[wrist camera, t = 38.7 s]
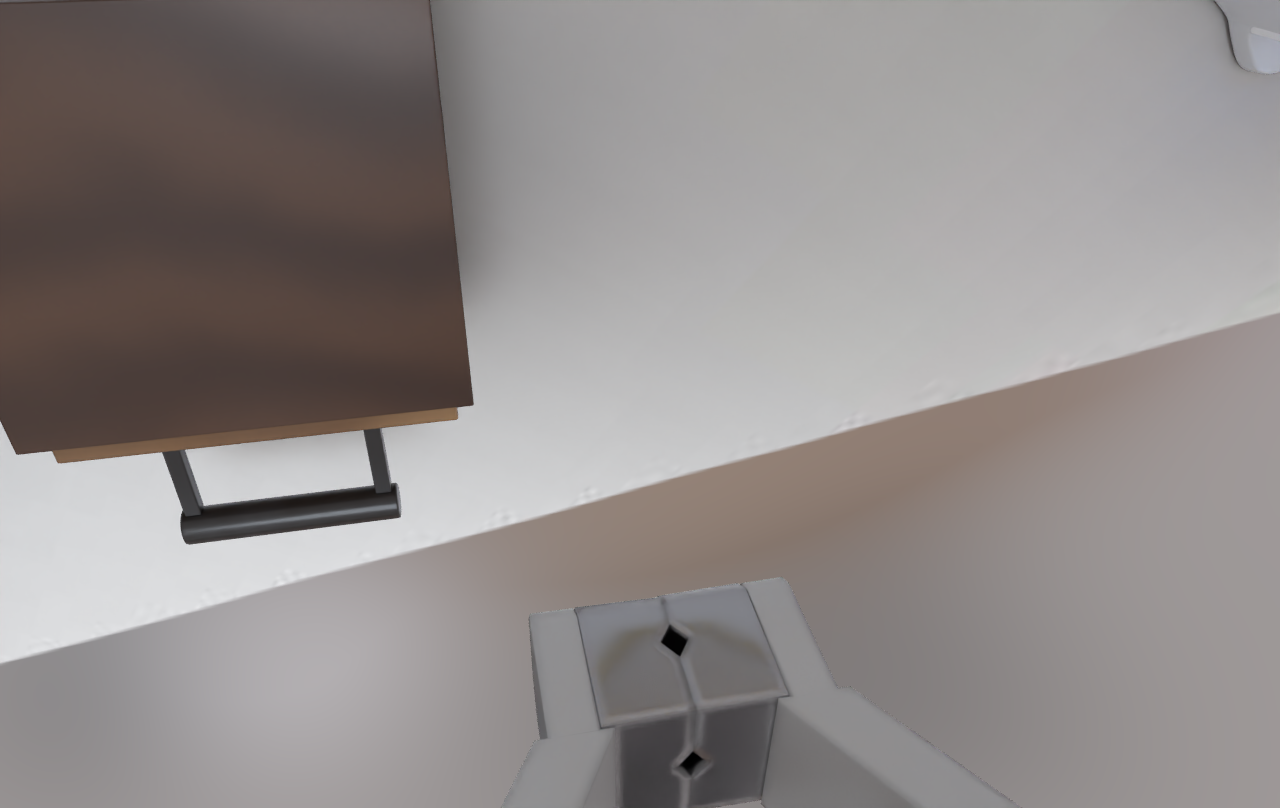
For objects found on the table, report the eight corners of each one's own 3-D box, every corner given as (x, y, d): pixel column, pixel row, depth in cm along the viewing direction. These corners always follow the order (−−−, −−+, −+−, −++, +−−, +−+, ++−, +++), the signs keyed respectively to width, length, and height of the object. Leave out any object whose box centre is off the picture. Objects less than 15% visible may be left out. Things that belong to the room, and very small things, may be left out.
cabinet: (459, 283, 40) (473, 406, 33) (88, 314, 37) (15, 455, 30) (421, -70, 32) (428, -11, 25) (-53, -61, 29) (-198, 9, 22)
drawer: (461, 419, 43) (471, 527, 37) (147, 453, 41) (106, 575, 35) (412, 8, 33) (415, 69, 27) (-13, 22, 30) (-110, 93, 24)
